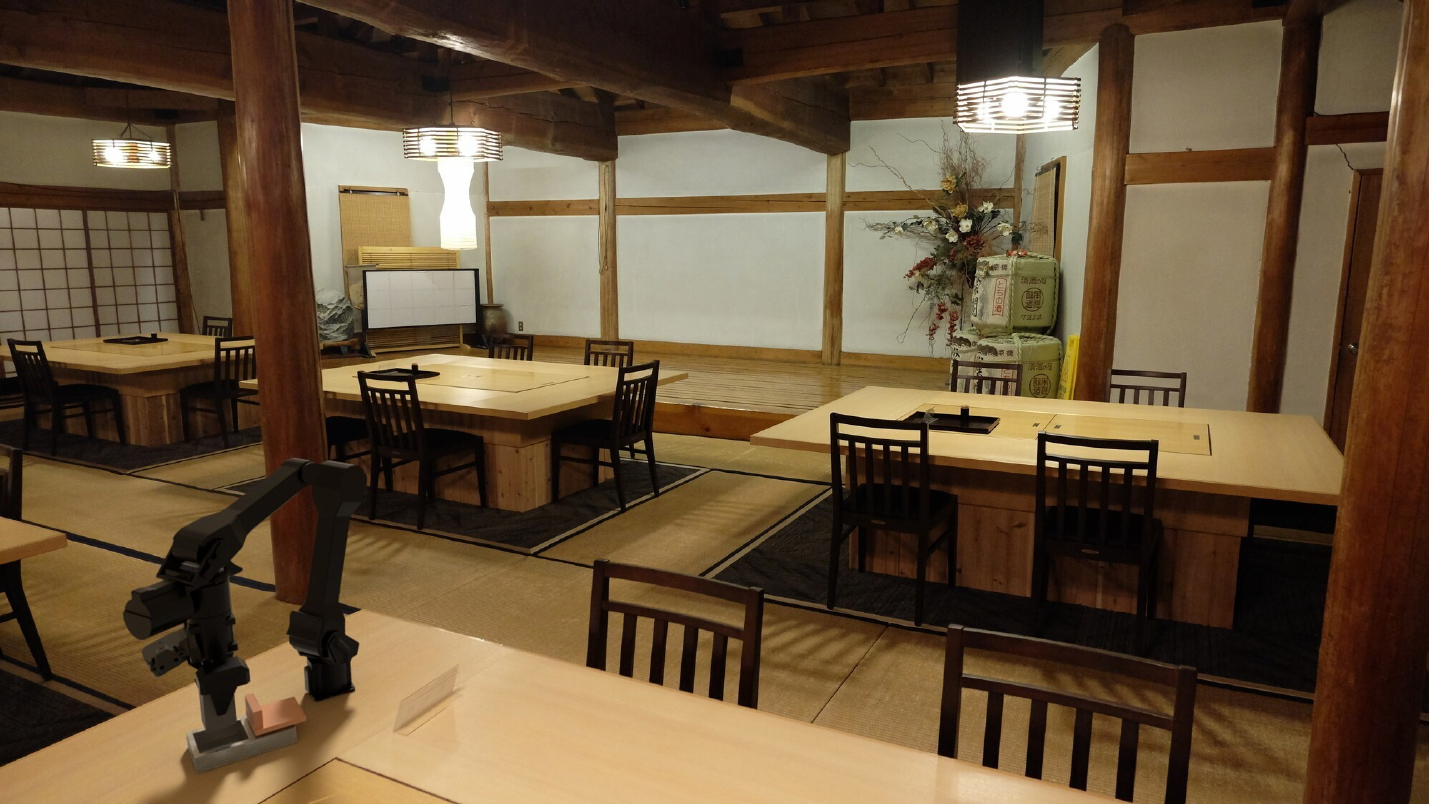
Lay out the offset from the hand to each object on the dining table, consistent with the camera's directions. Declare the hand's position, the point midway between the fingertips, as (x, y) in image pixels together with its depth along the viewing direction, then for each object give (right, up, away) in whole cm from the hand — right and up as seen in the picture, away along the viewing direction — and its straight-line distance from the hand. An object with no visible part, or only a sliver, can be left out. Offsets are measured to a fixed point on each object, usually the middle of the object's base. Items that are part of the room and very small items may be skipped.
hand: (218, 708), depth 128 cm
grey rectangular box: (+2, -7, +3) cm, 8 cm away
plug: (0, -2, 0) cm, 2 cm away
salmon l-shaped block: (+6, -3, +5) cm, 9 cm away
